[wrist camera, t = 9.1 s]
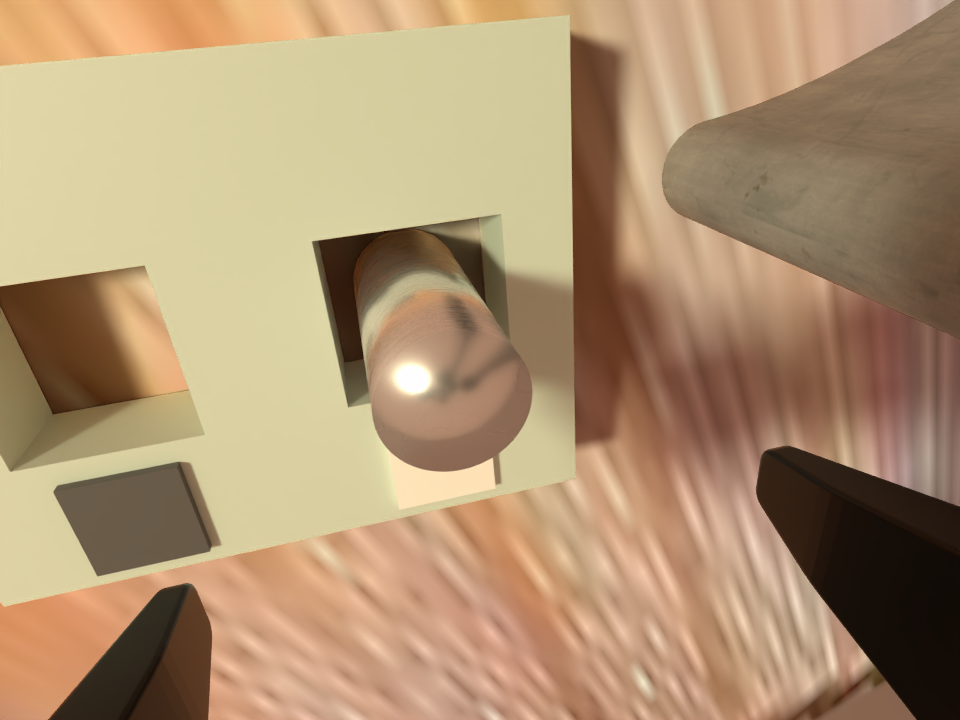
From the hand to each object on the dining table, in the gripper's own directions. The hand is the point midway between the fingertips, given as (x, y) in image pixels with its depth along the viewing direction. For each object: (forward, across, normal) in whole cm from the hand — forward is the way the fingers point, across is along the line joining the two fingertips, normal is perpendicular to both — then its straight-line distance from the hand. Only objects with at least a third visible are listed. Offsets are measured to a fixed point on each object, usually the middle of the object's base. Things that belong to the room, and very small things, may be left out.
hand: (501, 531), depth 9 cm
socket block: (+12, +4, 0) cm, 13 cm away
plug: (+12, 0, 0) cm, 12 cm away
